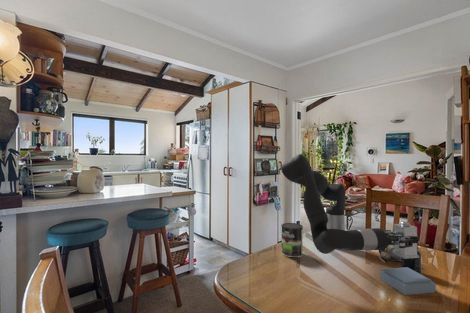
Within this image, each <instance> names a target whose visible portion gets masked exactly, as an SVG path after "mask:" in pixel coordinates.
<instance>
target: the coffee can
mask: <svg viewBox="0 0 470 313" xmlns="http://www.w3.org/2000/svg"><path fill="white" fill-rule="evenodd" d="M303 229H304V226H303V225H302V224H301V223H295V222H285V223H282V224H281V254H282V256H284V255H285V256H284V257H286V256H288V257H287V258H290V257H298V258H301V257H302V256H303V255H304V254H303ZM300 256H301V257H300Z"/></svg>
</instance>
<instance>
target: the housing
mask: <svg viewBox="0 0 470 313" xmlns="http://www.w3.org/2000/svg"><path fill="white" fill-rule="evenodd" d="M393 231H394V235H402V236H403V237H418V227H417V226H415V225H411V224H410V222H409V221H404V220H403V221H400V223H393ZM398 238H399V240H400V237H398ZM417 244H418V243H413V246H412V247H407V248H399V245H394V250H392V253H394V254H396V255H398V256H400V257H402V258H404V259H407V258H419V255H417Z"/></svg>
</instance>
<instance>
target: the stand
mask: <svg viewBox="0 0 470 313" xmlns="http://www.w3.org/2000/svg"><path fill="white" fill-rule="evenodd" d="M379 271H380V272H379V274H380V276H379V278H380V280H382V281H384V282H385V283H386V284H388V285H389V286H391V287H392V288H393V289H395V290H396V291H398V292H400V293H401V294H402V295H404V296H407V295H408V296H409V295H419V294H420V295H421V294H422V295H423V294H430V293H431V294H432V293H436V282H434V281H432V279H431V278H428V277H426V276H425V275H423V274H419V273H417V272H415V271H414V270H412V269H410V268H408V267H404V268H402V267H394V268H383V269H380V270H379Z"/></svg>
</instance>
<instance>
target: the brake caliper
mask: <svg viewBox="0 0 470 313" xmlns="http://www.w3.org/2000/svg"><path fill="white" fill-rule="evenodd" d="M392 250H394V246H391V245H388V246H387V248H386V249H384V250H377V251H378V253H379V255H378V259H379V260H381V262H383V263H386V261H387V262H391V261H392V262H401V257H400V256H398V255H396V254H394V253H392Z"/></svg>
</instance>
